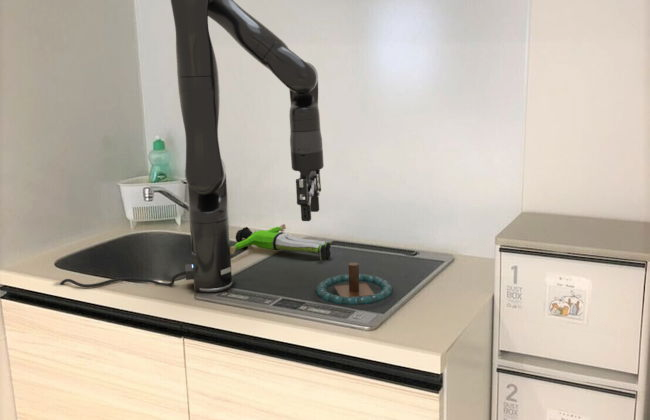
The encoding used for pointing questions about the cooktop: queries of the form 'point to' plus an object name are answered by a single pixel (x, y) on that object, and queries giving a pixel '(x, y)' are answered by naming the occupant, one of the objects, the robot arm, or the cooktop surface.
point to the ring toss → (354, 284)
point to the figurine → (280, 242)
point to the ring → (373, 298)
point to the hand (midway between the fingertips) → (310, 216)
